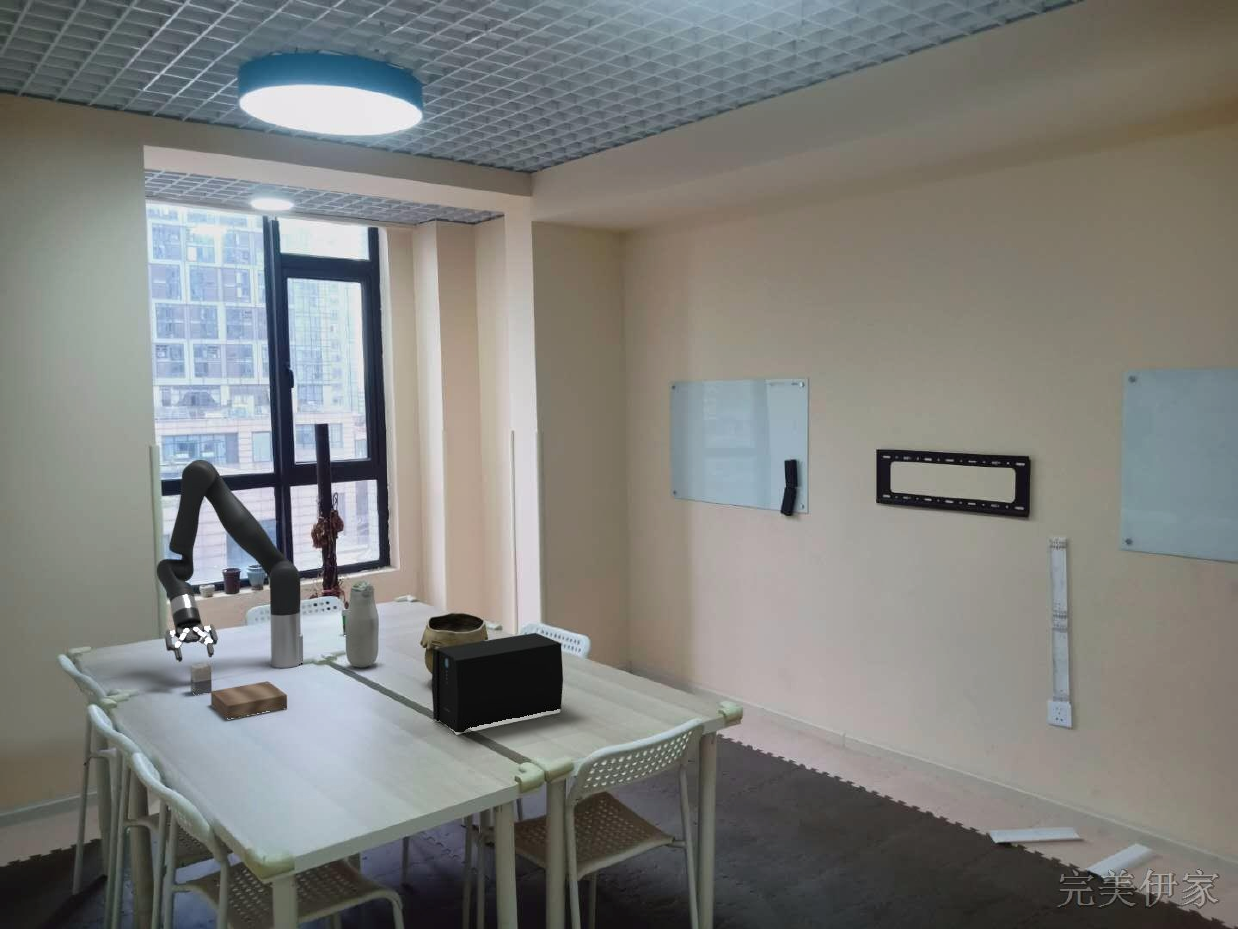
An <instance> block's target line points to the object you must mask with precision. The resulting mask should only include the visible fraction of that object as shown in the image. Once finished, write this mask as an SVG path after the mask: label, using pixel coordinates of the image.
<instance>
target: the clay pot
mask: <svg viewBox="0 0 1238 929" xmlns="http://www.w3.org/2000/svg"><path fill="white" fill-rule="evenodd" d="M487 640H489V634H488V630H487V625H486V621H485V619H483V618H482V617H480V616H477V615H474V614H472V613H471V614H470V613H467V612H449V613H446V614H442V615H433V616H430V617H429V618H428V619H427V621H426V625H425V628H424V631H423V634H422V638H421V640H420V642H419V644H420V646H421V648H423V649H425V651H424V663H425V667H426V669H427V670H428V672H429V673H430V674H431V675H432V668H433V649H436V648H442V647H448V646H455V645H461V644H468V643H474V642H480V641H487Z"/></svg>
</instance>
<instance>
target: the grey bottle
mask: <svg viewBox="0 0 1238 929" xmlns="http://www.w3.org/2000/svg"><path fill="white" fill-rule="evenodd" d="M349 596H350V597H349V602H348V608H347V609H346V610H347V613H346V619H345V634H346V636H345V654H346V658H347V660H348V662H349V664H350V665H351V666H353V667H356V668H359V667H363V668H368V667H367V666H369V667H370V665H371V666H372V665H374V664H375V663H376V661H377V658H378V655H379V633H380V631H379V630H380V628H379V627H380V619H379V613H378V609H377V604H376V599H375V587H374V586H373V584H372V583H371V582H368V581H362V580H361V581H357V582H354V583H353V584H352V585H351V588H350V593H349Z"/></svg>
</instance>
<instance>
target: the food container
mask: <svg viewBox="0 0 1238 929" xmlns="http://www.w3.org/2000/svg"><path fill="white" fill-rule="evenodd" d="M347 610H348V609H342V610H341V618H342V619H341V620H342V629H343V631H342V633H343V636H344V635H346V634H345V619H346V613H347Z"/></svg>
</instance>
